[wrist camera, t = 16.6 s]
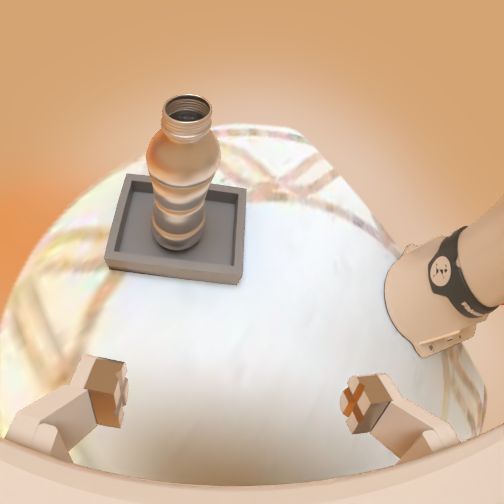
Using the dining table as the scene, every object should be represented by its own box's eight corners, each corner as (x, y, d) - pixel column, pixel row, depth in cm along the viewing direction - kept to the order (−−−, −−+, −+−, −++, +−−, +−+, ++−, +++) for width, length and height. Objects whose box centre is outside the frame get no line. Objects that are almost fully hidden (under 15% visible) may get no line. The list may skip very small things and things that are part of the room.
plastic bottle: (143, 223, 38) (130, 96, 20) (189, 202, 40) (207, 76, 23) (165, 265, 36) (161, 149, 19) (213, 241, 39) (248, 123, 21)
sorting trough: (241, 203, 43) (246, 188, 40) (236, 284, 38) (242, 275, 35) (129, 188, 40) (126, 173, 37) (109, 269, 35) (103, 258, 32)
